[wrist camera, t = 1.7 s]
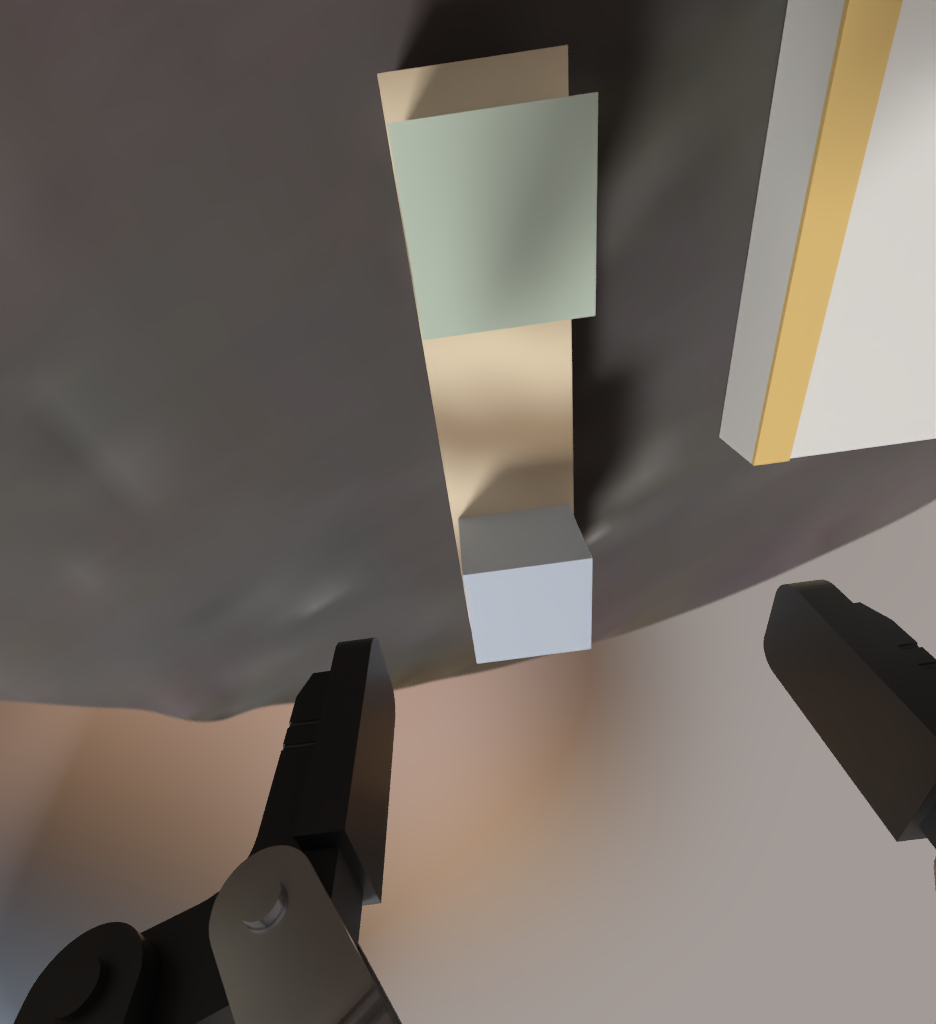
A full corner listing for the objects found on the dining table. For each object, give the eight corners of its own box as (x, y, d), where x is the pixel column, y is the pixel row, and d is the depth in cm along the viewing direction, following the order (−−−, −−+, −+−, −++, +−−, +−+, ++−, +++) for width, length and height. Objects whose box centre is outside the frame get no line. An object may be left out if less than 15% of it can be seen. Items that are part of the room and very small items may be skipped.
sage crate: (397, 140, 15) (386, 123, 12) (561, 116, 15) (598, 91, 12) (425, 313, 18) (423, 340, 14) (564, 293, 18) (595, 315, 14)
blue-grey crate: (458, 518, 22) (462, 575, 19) (568, 503, 22) (592, 558, 19) (470, 601, 25) (476, 663, 22) (569, 588, 25) (590, 648, 22)
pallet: (387, 97, 18) (377, 73, 14) (542, 74, 18) (568, 44, 14) (465, 575, 29) (470, 624, 26) (558, 563, 29) (575, 610, 26)
